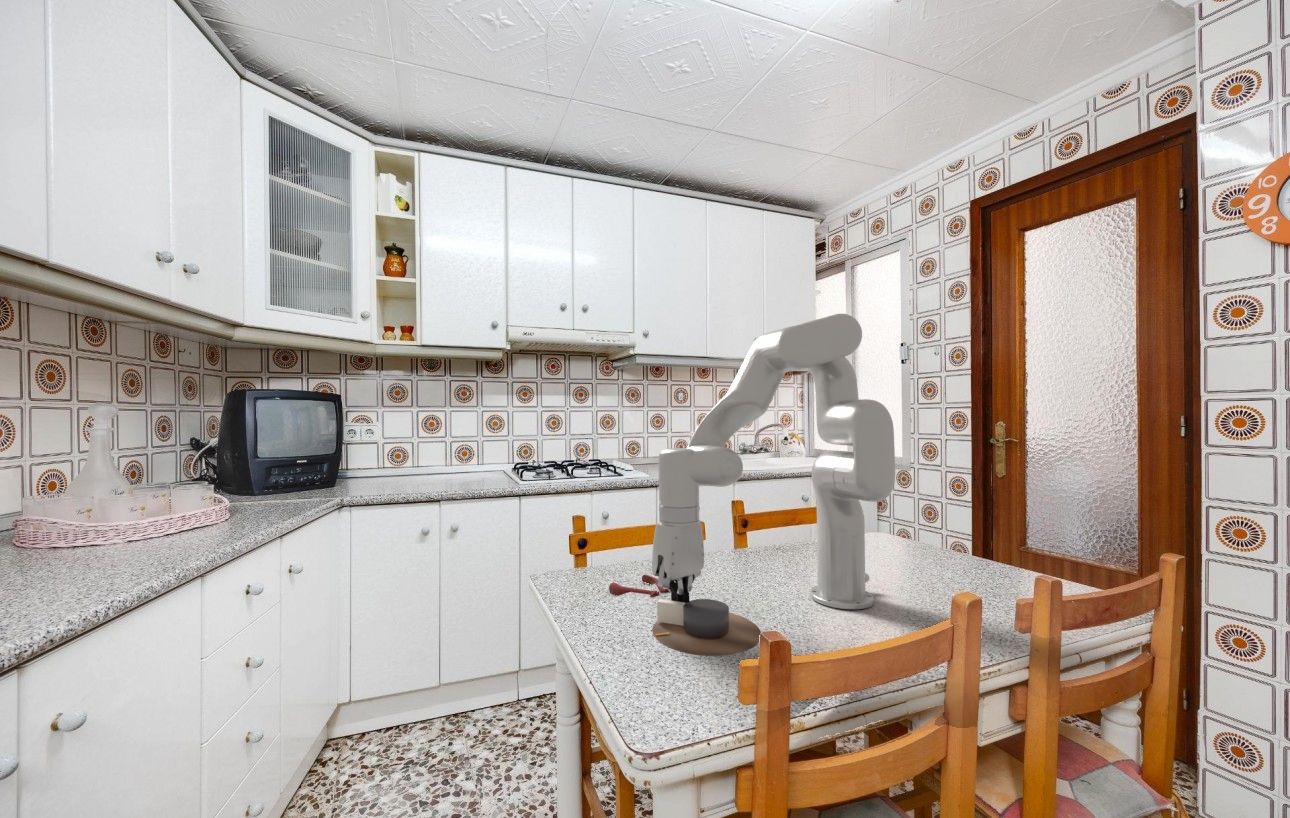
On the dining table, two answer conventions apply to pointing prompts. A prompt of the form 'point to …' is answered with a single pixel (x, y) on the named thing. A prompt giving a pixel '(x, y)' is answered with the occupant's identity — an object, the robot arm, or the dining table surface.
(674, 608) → the dial knob
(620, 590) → the pliers
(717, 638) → the dial plate
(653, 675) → the dining table surface
